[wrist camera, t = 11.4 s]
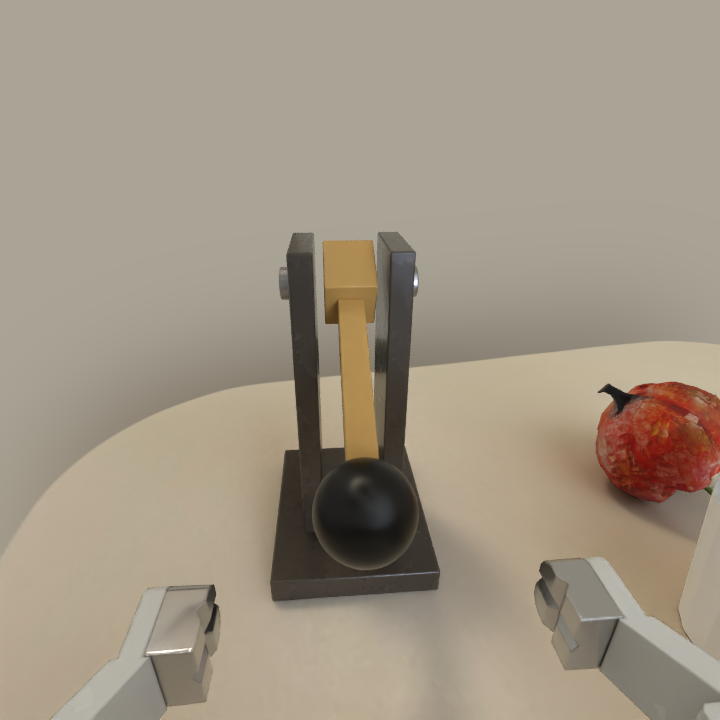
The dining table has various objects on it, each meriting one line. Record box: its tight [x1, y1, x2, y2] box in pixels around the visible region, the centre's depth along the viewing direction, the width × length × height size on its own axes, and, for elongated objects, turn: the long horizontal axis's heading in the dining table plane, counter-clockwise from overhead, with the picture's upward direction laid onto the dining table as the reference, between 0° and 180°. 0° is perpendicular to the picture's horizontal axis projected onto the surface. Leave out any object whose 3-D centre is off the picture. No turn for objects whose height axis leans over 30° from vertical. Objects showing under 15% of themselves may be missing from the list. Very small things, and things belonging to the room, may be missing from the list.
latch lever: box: [312, 240, 419, 570], centre depth 17 cm, size 13×3×3 cm
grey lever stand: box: [270, 232, 440, 601], centre depth 22 cm, size 10×8×16 cm
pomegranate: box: [596, 382, 720, 503], centre depth 27 cm, size 7×7×10 cm
